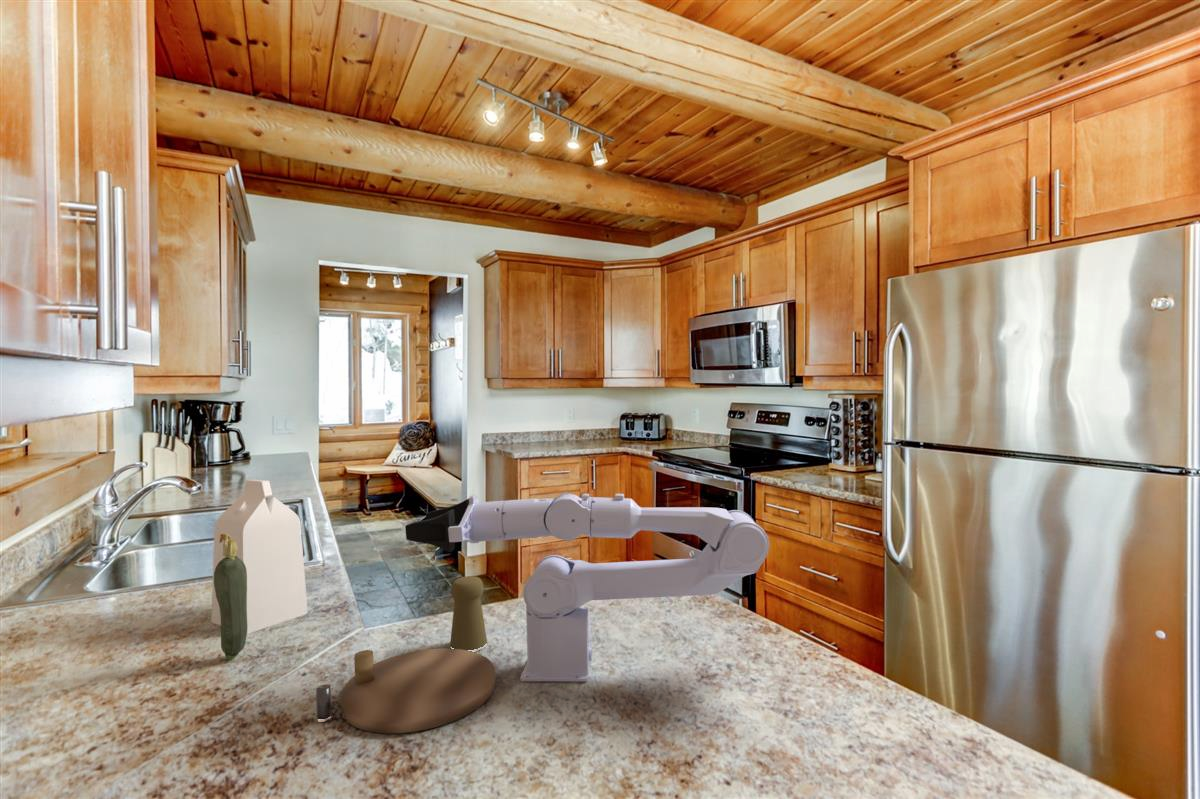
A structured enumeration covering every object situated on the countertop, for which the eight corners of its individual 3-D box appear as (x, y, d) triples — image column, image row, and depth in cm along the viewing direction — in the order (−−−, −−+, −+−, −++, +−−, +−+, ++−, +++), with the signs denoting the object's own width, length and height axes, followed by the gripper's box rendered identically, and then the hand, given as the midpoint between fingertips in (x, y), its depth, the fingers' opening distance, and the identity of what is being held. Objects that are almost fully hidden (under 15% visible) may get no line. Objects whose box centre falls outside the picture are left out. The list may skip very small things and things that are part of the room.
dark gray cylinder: (476, 672, 83) (476, 644, 83) (444, 724, 70) (443, 692, 70) (367, 671, 85) (366, 644, 85) (314, 722, 71) (313, 690, 71)
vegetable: (254, 657, 90) (252, 531, 90) (227, 669, 86) (224, 537, 87) (237, 653, 92) (234, 529, 92) (209, 664, 88) (206, 535, 88)
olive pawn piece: (478, 655, 89) (476, 584, 89) (442, 652, 90) (441, 583, 90) (493, 639, 95) (491, 573, 95) (459, 637, 96) (458, 572, 96)
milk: (307, 613, 109) (304, 478, 110) (244, 634, 100) (240, 486, 100) (274, 603, 116) (271, 475, 116) (211, 622, 106) (208, 482, 106)
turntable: (510, 658, 87) (509, 625, 87) (471, 734, 67) (470, 692, 67) (383, 657, 89) (382, 625, 89) (308, 731, 69) (307, 690, 69)
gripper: (514, 484, 91) (432, 490, 92) (491, 502, 77) (394, 509, 78) (518, 528, 91) (436, 533, 92) (495, 554, 77) (398, 560, 78)
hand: (417, 525), depth 85 cm, fingers open, 7 cm apart
